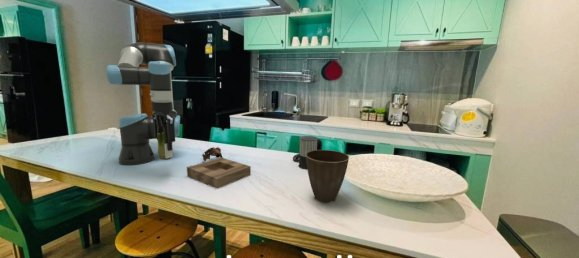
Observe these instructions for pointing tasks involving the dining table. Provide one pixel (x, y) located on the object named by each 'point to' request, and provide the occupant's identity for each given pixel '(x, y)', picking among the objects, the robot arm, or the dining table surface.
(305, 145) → the milk frother
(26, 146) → the dining table surface
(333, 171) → the plant pot
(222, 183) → the tray
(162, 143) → the fennel bulb
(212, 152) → the brown animal figurine
